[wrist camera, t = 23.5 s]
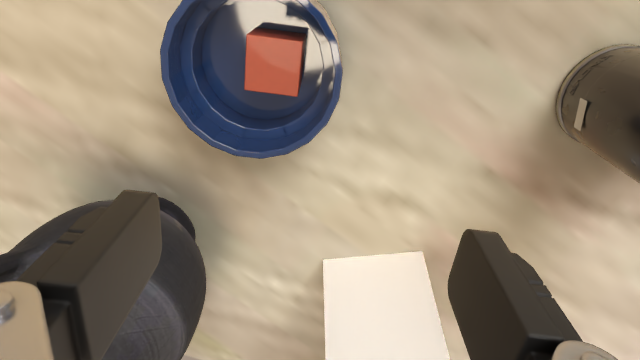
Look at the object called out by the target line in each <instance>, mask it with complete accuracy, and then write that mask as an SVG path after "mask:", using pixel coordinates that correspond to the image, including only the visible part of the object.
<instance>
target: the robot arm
mask: <svg viewBox="0 0 640 360" xmlns="http://www.w3.org/2000/svg"><path fill="white" fill-rule="evenodd" d="M556 112H557V118H558V121H559V123H560V126H561V127H562V129H563V130H564V131H565V132H566V133H567V134H568V135H569V136H570V137H572V138H573V139H575V140H576V141H578V142H580V143H582V144H584V145H585V146H587V147H588V148H590V149H591V150H592V151H594V152H595V153H597V154H598V155H599V156H601V157H602V158H604V159H605V160H607V161H608V162H610V163H611V164H612V165H614V166H615V167H617V168H618V169H620V170H621V171H623V172H624V173H625V174H627V175H628V176H630V177H631V178H633V179H634V180H636V181H637V182H638V183H640V46H635V45H628V44H624V45H615V46H610V47H607V48H604V49H601V50H599V51H597V52H595V53H593V54H591V55H589V56H588V57H587V58H585V59H584V60H582V61H581V62H580V63H579V64H578V65H577V66H576V67H575V68H574V69H573V70H572V71H571V72H570V74H569V75H568V76H567V78H566V79H565V81H564V83H563V84H562V86H561V89H560V91H559V94H558V98H557V104H556ZM161 251H162V235H161V221H160V206H159V198H158V196H157V194H156V193H150V192H141V191H132V190H124V191H123V192H122V193H121V194H120V195H119V196H118V197H117V198H116V199H115V200H114V201H113V202H112V203H111V204H110V205H109V206H108V207H101V206H100V207H99V208H97V209H95V210H93V211H91V212H89V213H87V214H85V215H83V216H81V217H80V218H79V219H78V220H77V221H76V222H75V223H74V224H73V225H72V226H71V227H70V228H69V229H68V232H65V233H64V234H63V235H61V236H60V237H59V238H58V239H57V242H56V243H53V244H52V245H51V246H50V247H49V248H48V249H47V250H46V251H45V252H44V253H43V254H42V255H41V256H40V257H39V258H38V259H37V260H36V261H35V262H34V263H33V264H32V265H31V266H30V267H29V268H28V269H27V270H26V271H25V272H24V273H22V274H21V275H20V276H19V277H18V278H17V279H16V280H15V281H12V282H2V283H0V360H102V358H103V356H104V355H105V353H106V351H107V350H108V348H109V346H110V345H111V343H112V341H113V340H114V338H115V336H116V335H117V333H118V331H119V330H120V328H121V326H122V324H123V323H124V321H125V319H126V318H127V316H128V314H129V313H130V311H131V309H132V308H133V306H134V304H135V303H136V301H137V299H138V298H139V296H140V294H141V293H142V291H143V289H144V288H145V286H146V284H147V283H148V281H149V279H150V277H151V276H152V274H153V272H154V271H155V269H156V267H157V265H158V263H159V260H160V256H161ZM448 296H449V300H450V303H451V306H452V309H453V311H454V314H455V317H456V320H457V323H458V326H459V328H460V331H461V334H462V337H463V340H464V343H465V345H466V348H467V351H468V354H469V357H470V359H471V360H618V359H616V358H615V357H614V356H612V355H611V354H609V353H608V352H606V351H604V350H603V349H601V348H599V347H596V346H594V345H591V344H589V343H585V342H583V341H582V339H581V338H580V336H579V335H578V333H577V332H576V330H575V329H574V327H573V326H572V325H571V323H570V322H569V320H568V319H567V317H566V316H565V314H564V313H563V311H562V310H561V308H560V307H559V305H558V304H557V302H556V301H555V299H554V298H552V297H551V296H552V295H551V293H550V292H549V290H548V289H547V287H546V286H545V285H543V282H542V280H541V279H540V277H539V276H538V274H537V273H536V271H535V270H534V268H533V267H532V266H531V265H529V264H528V263H527V262H526V261H525V260H523V259H522V258H521V257H520V256H519V255H517V254H515V253H511V252H510V251H509V249H508V248H507V246H506V244H505V243H504V241H503V240H502V238H501V236H500V235H499V234H498V233H496V232H489V231H480V230H472V229H467V230H466V231H465V232H464V233H463V235H462V238H461V241H460V244H459V247H458V250H457V253H456V256H455V259H454V262H453V265H452V269H451V272H450V275H449V279H448Z"/></svg>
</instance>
